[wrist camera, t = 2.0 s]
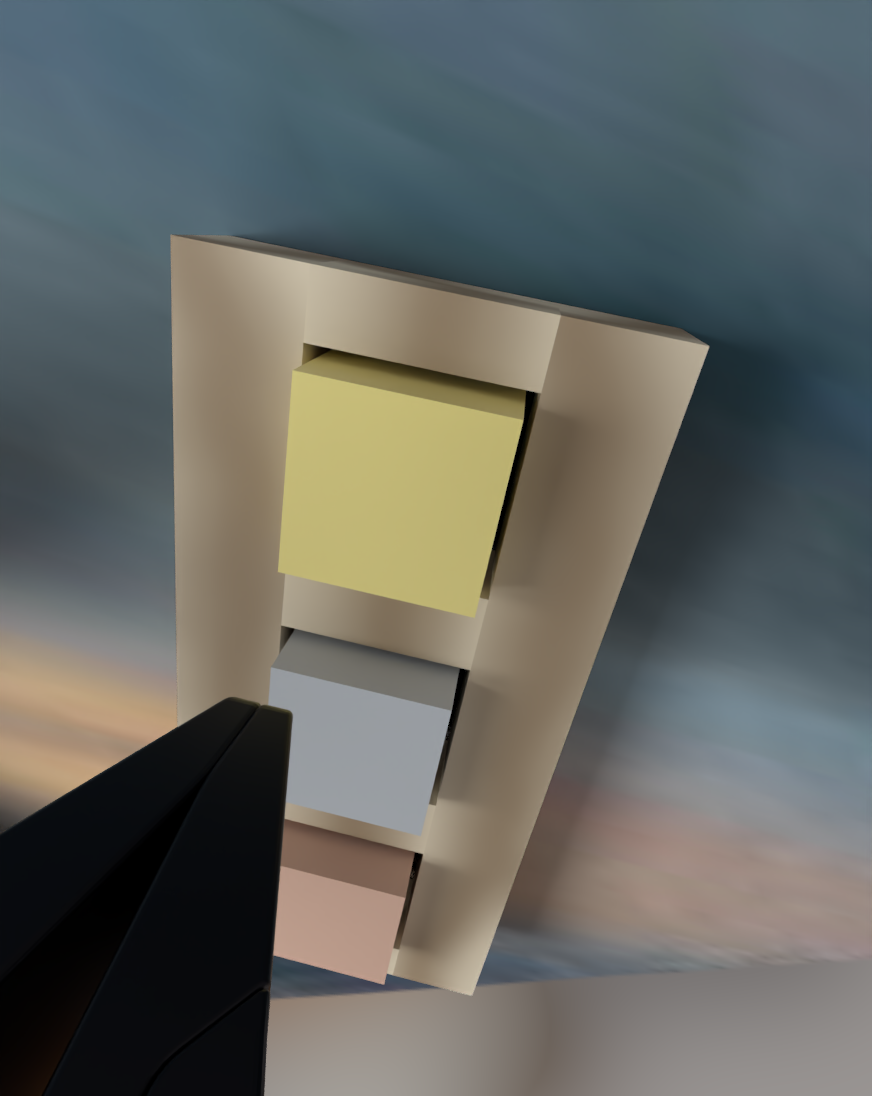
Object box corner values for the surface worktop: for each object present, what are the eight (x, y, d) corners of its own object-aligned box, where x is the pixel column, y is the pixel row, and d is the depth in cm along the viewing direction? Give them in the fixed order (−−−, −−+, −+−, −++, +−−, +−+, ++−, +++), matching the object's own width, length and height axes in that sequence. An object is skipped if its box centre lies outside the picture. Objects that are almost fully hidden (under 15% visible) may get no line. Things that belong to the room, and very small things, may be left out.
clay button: (280, 875, 26) (250, 949, 23) (289, 788, 23) (257, 859, 21) (400, 906, 25) (384, 984, 23) (420, 821, 23) (405, 898, 20)
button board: (214, 853, 28) (180, 918, 25) (229, 235, 17) (170, 234, 14) (478, 922, 27) (471, 996, 25) (681, 328, 16) (709, 346, 13)
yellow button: (315, 523, 18) (277, 572, 16) (333, 348, 16) (292, 370, 13) (484, 562, 18) (474, 617, 15) (526, 390, 16) (523, 420, 13)
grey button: (295, 728, 22) (261, 796, 19) (307, 609, 20) (271, 667, 17) (435, 763, 22) (420, 836, 19) (463, 646, 19) (451, 711, 17)
